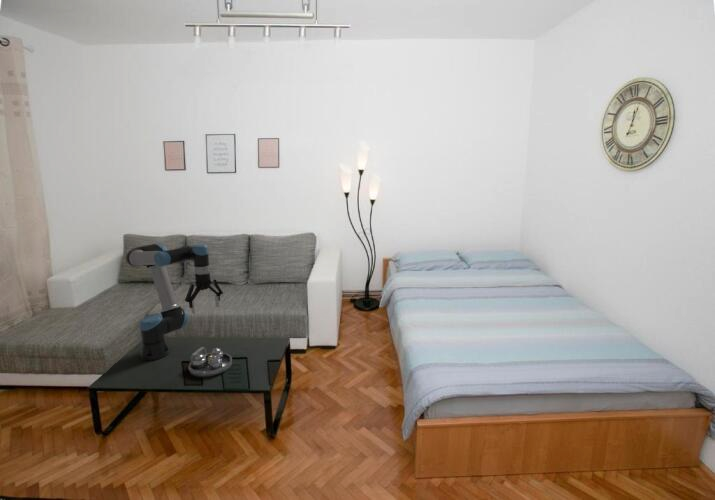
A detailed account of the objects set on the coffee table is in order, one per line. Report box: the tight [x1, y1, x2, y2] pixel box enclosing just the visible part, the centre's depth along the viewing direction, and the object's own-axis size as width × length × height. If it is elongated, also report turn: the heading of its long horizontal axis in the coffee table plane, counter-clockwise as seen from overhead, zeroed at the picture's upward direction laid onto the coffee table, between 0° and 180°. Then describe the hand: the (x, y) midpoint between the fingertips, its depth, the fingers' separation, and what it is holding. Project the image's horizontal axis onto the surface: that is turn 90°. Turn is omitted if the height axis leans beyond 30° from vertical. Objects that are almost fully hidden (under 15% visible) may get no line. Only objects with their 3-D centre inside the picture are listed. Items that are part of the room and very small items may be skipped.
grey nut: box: [208, 356, 222, 371], centre depth 212 cm, size 7×7×6 cm
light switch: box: [190, 346, 207, 367], centre depth 220 cm, size 2×12×8 cm, turn 168°
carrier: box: [188, 347, 233, 378], centre depth 216 cm, size 22×22×8 cm
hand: (205, 309), depth 218 cm, fingers open, 13 cm apart
